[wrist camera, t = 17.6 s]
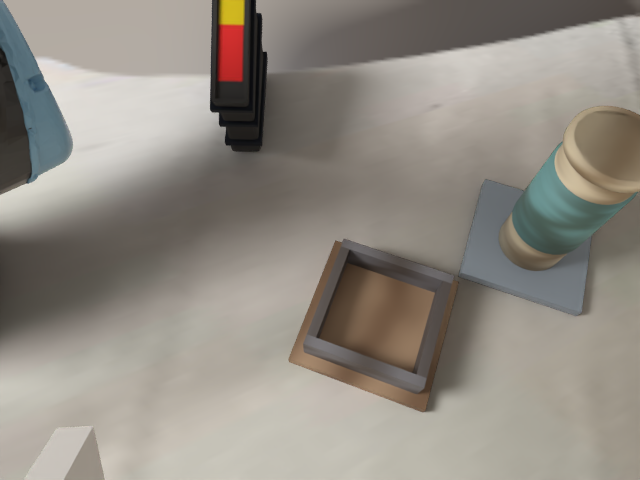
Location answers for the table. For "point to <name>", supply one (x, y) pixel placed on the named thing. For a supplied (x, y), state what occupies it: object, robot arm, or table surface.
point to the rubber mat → (500, 273)
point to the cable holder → (377, 323)
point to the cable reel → (575, 188)
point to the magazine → (238, 72)
